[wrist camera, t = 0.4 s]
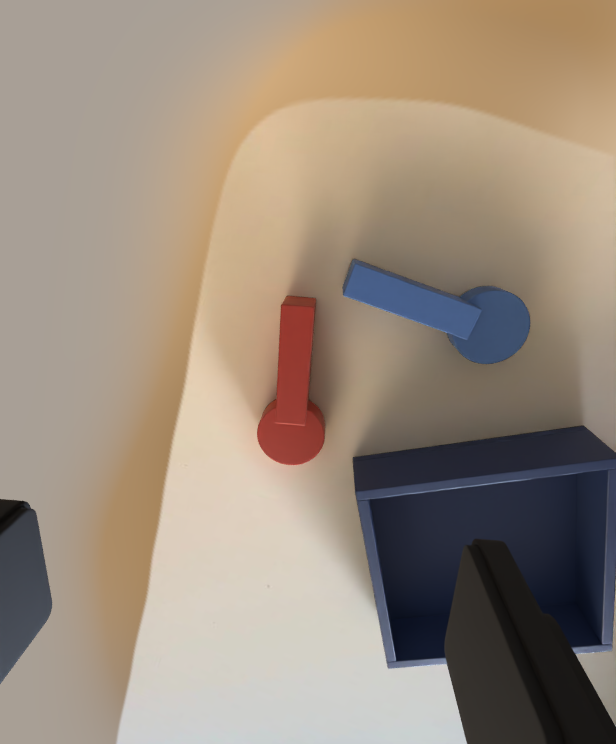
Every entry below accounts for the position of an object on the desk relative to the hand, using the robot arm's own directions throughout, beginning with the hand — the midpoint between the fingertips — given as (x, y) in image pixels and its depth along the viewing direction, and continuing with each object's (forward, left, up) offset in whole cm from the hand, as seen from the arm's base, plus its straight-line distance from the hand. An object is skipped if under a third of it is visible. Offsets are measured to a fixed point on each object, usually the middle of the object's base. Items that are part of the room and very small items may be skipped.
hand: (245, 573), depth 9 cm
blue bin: (+13, +8, -16) cm, 22 cm away
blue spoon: (-2, +7, -16) cm, 17 cm away
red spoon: (+1, -1, -16) cm, 16 cm away
